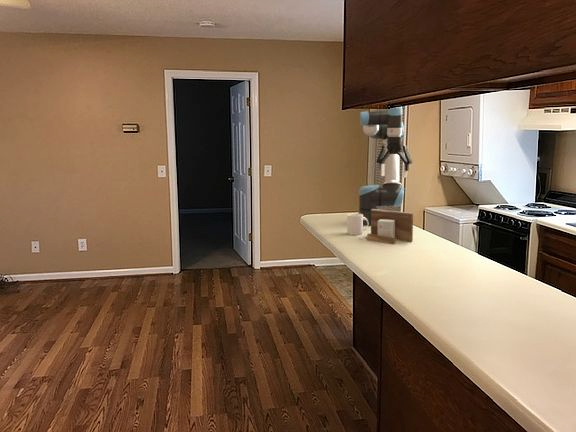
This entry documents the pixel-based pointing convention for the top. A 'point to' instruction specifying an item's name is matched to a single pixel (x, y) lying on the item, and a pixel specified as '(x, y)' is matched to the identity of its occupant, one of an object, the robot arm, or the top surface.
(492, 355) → the top surface
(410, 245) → the top surface
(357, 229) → the mug
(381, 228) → the small box
